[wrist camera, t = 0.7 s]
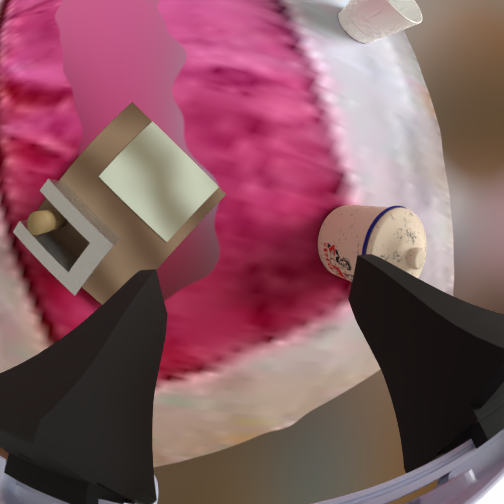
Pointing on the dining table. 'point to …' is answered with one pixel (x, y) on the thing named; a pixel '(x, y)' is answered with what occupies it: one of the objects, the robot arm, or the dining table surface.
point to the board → (131, 199)
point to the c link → (55, 253)
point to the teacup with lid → (371, 238)
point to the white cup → (378, 18)
